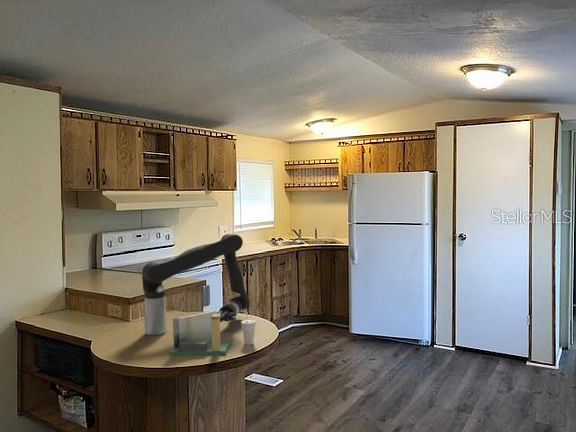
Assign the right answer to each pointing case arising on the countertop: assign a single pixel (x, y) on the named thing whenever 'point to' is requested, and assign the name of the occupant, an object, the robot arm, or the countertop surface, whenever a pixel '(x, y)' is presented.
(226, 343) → the bracket
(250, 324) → the smoothie
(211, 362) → the countertop surface
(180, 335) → the white upright panel
